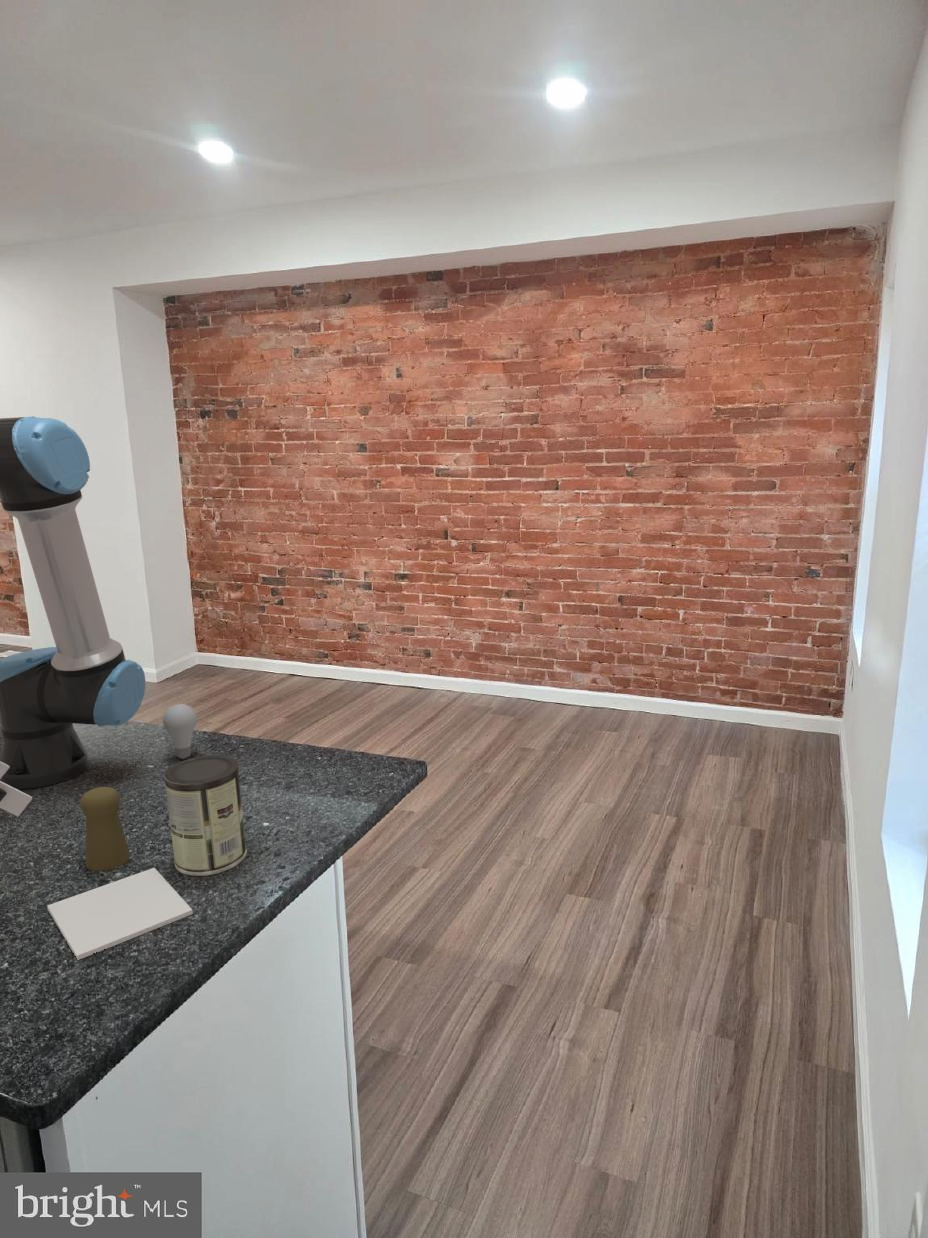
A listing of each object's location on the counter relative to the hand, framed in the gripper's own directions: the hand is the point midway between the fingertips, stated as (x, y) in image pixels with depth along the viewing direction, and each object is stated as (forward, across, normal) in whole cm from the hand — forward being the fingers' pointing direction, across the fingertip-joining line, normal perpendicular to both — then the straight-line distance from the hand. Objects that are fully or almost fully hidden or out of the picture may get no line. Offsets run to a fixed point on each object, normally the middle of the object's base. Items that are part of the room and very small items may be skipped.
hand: (13, 790), depth 107 cm
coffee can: (+26, +10, +5) cm, 28 cm away
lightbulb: (+34, -30, +13) cm, 47 cm away
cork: (+18, 0, -3) cm, 18 cm away
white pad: (+16, +15, -5) cm, 22 cm away
